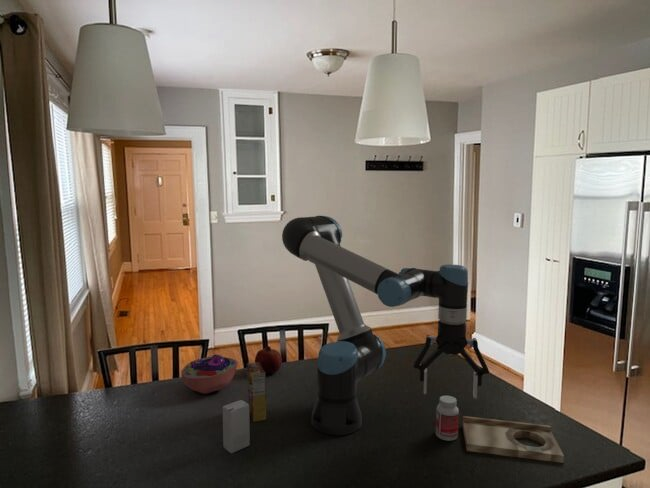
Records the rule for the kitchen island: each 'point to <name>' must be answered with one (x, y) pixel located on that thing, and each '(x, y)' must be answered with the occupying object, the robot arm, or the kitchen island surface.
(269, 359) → the fruit
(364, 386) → the kitchen island surface
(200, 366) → the cell model
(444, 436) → the pill bottle
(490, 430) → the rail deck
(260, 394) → the candy box
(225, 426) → the skincare box
